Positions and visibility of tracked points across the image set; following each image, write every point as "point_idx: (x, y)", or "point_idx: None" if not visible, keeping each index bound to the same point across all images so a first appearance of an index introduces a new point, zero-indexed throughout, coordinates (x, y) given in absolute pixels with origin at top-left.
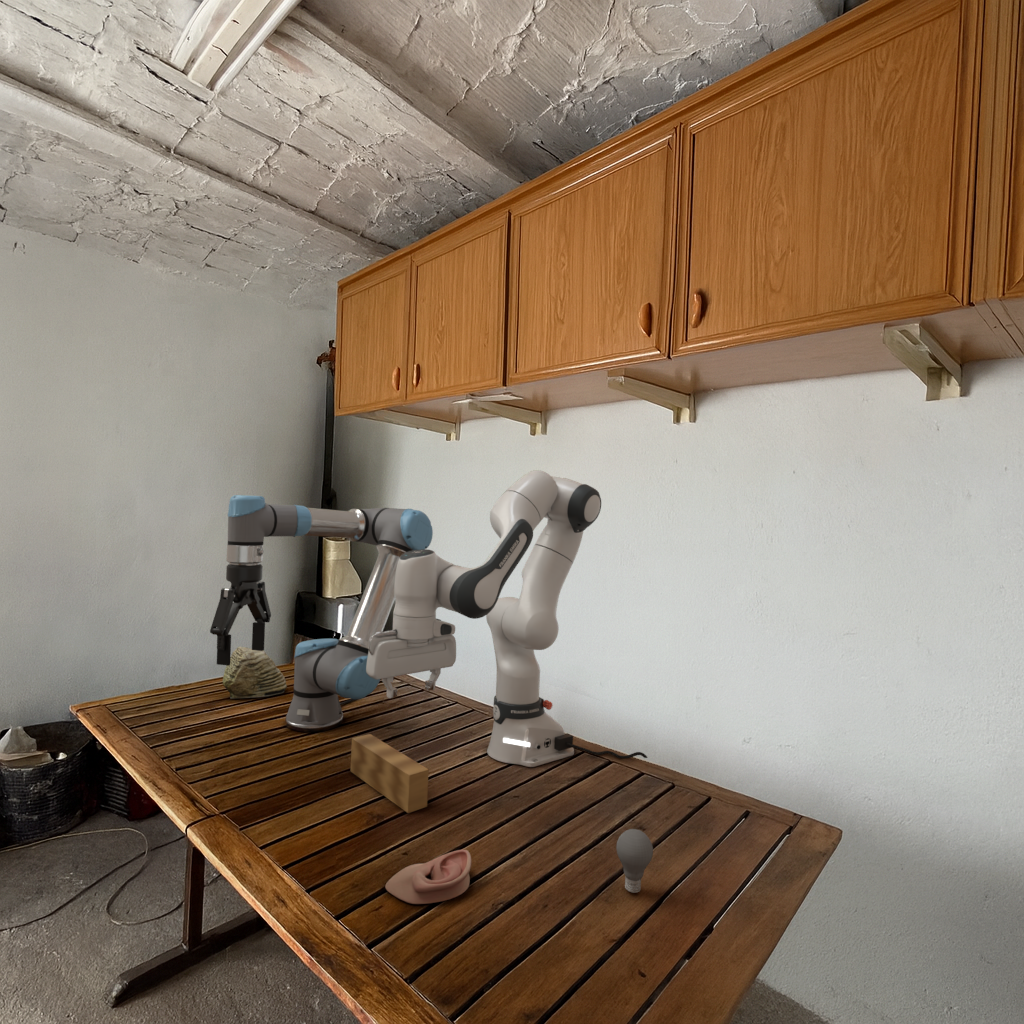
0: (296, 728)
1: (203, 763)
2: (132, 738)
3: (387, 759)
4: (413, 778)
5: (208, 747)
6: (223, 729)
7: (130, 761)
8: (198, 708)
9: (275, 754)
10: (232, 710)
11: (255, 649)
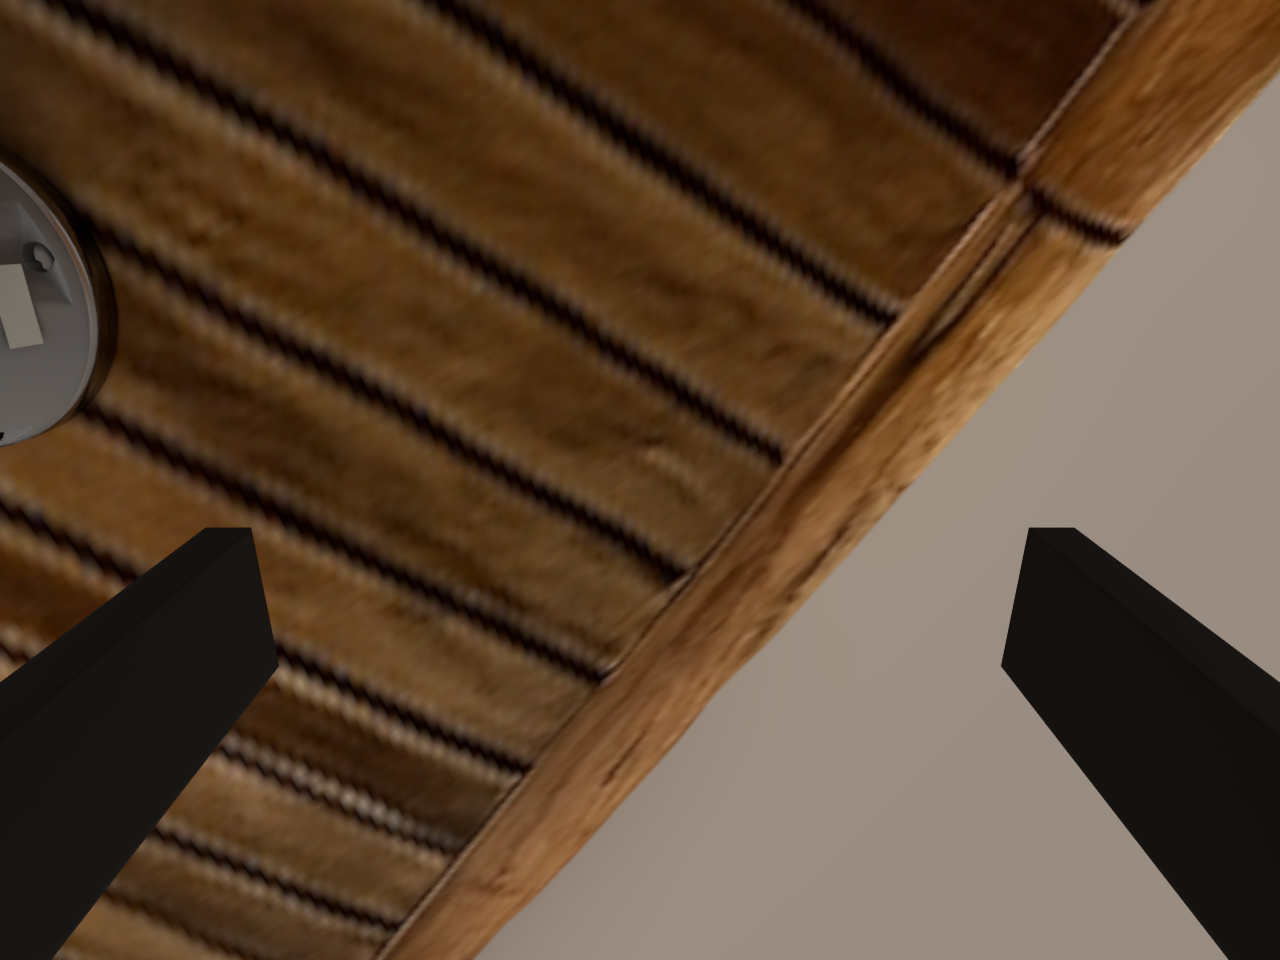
0: (108, 322)
1: (599, 518)
2: (474, 870)
3: None
4: None
5: (450, 591)
6: None
7: (654, 757)
8: None
9: (413, 272)
10: None
11: (265, 625)
